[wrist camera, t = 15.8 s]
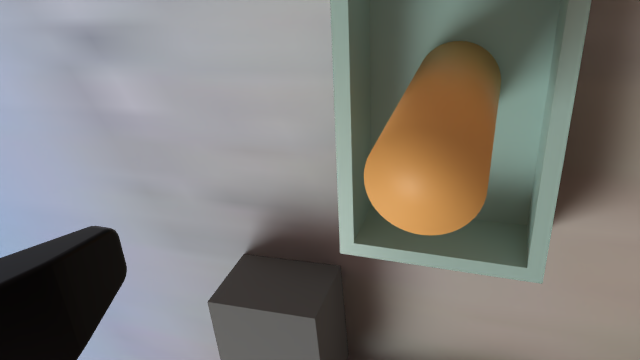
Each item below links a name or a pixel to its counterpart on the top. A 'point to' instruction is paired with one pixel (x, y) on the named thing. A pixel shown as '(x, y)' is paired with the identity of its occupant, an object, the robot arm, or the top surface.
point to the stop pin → (438, 143)
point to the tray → (510, 132)
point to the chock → (280, 311)
